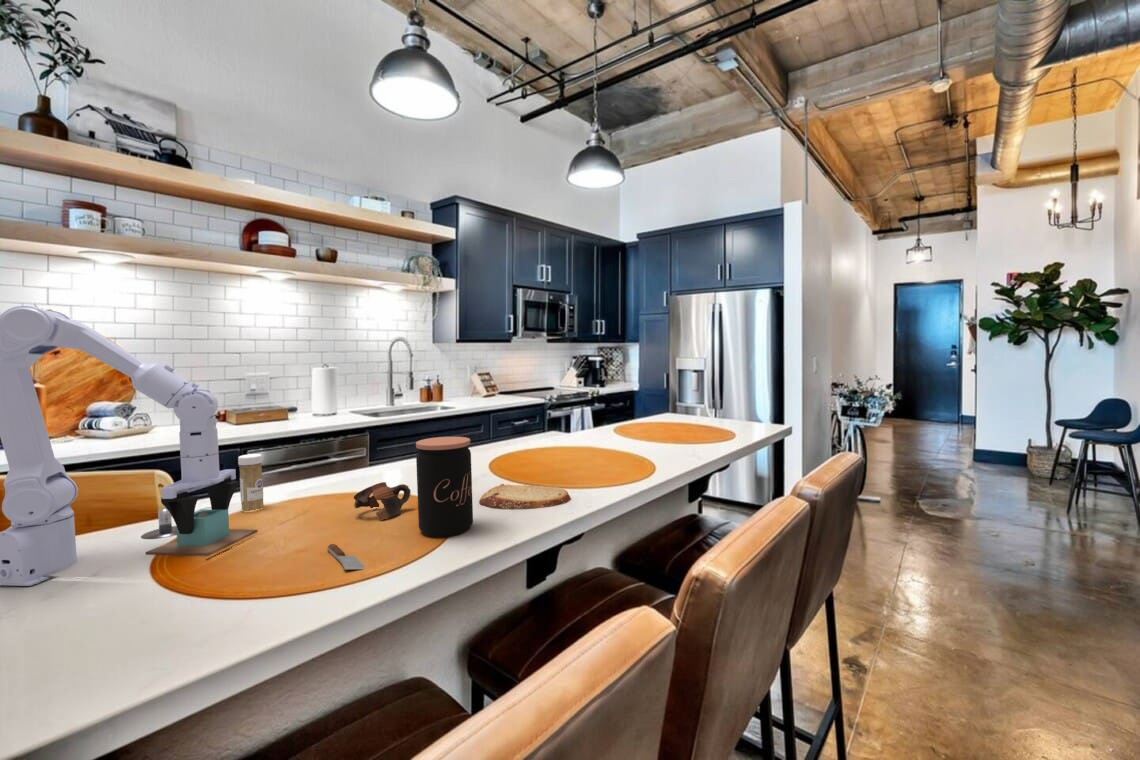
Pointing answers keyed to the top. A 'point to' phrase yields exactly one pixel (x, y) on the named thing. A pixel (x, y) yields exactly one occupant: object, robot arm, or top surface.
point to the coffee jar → (444, 486)
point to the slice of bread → (524, 497)
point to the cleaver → (345, 558)
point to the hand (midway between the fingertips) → (203, 526)
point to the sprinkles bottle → (251, 481)
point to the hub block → (207, 550)
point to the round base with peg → (162, 526)
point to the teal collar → (206, 528)
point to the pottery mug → (383, 499)
